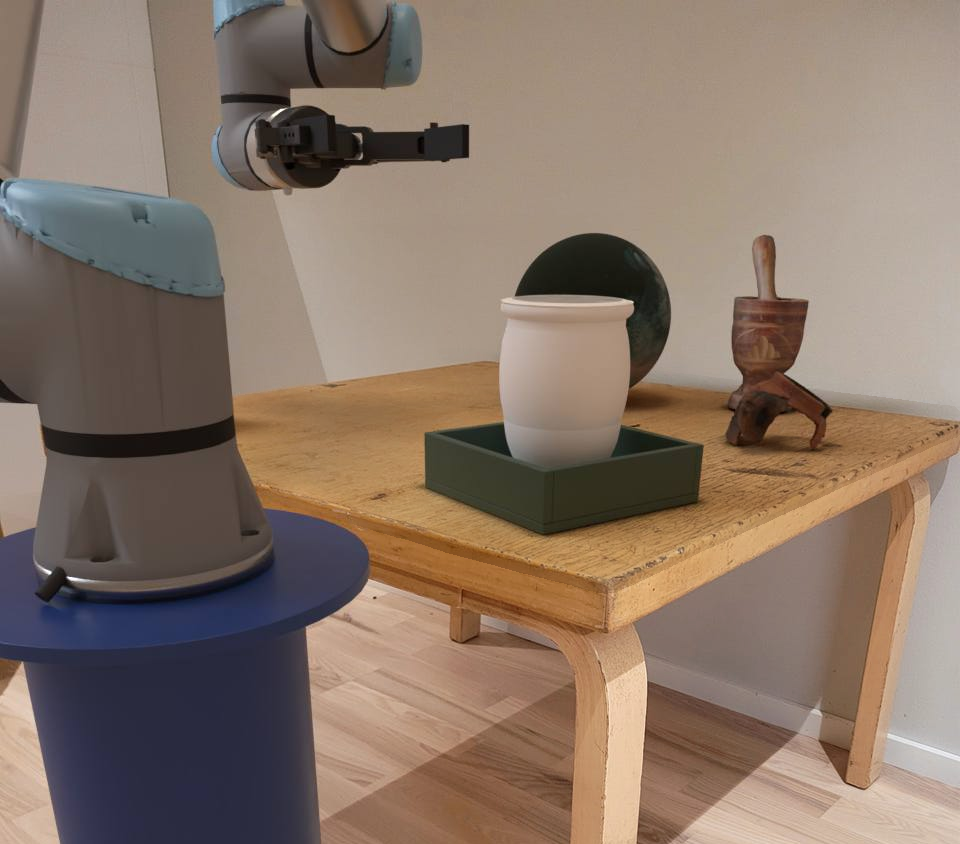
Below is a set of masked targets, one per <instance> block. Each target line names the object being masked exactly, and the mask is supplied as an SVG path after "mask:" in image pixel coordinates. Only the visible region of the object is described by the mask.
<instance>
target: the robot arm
mask: <svg viewBox="0 0 960 844" xmlns="http://www.w3.org/2000/svg"><path fill="white" fill-rule="evenodd" d="M45 1H46V0H0V404H19V405H21V404H22V405H24V404H26V405H28V404H29V405H36V406H37V411H38V416H39V417H38V418H39V422H40V425H41V431H42V438H43V443H44V449H45V457H46V464H45V471H44V476H43V481H42V482H43V483H42V488H41V495H40V500H39V505H38V506H39V507H38V513H37V518H36V525H35V527H36V530H35V536H34V542H33V559H34V565H35V570H36V575H37V580H38V582H39V584H40V585H41V586H40V587H39V588H38V589H37V590H36V592H35V594H36V596H37V597H39V598H40V599H41V600H43V601H45V602H48V603H49V602H50V600H51V599H52V598H53V597H54V596H55V595H59V596H62V597H65V598H69V599H73V600H78V601H85V602H92V603H104V604H145V603H158V602H168V601H175V600H182V599H188V598H194V597H199V596H204V595H208V594H212V593H216V592H219V591H223V590H226V589H229V588H232V587H235V586H238V585H240V584H243V583H245V582H247V581H249V580H251V579H253V578H255V577H257V576H258V575H260V574H261V573H263V572H264V571H265V570H267V569H268V568H269V567H270V566H271V564H272V563H273V560H274V543H273V534H272V531H271V527H270V523H269V521H268V518H267V516H266V514H265V511H264V509H263V508H264V507H263V504H262V502H261V499H260V498H259V495H258V493H257V491H256V487H255V486H254V483H253V481H252V478H251V476H250V474H249V472H248V469H247V467H246V465H245V462H244V460H243V458H242V455H241V452H240V450H239V447H238V440H237V432H236V424H235V411H234V399H233V389H232V377H231V376H232V375H231V364H230V354H229V341H228V329H227V317H226V304H225V295H224V294H225V292H226V281H225V279H224V277H223V275H222V270H221V264H220V258H219V257H220V256H219V250H218V246H217V245H218V244H217V238H216V234H215V229H214V227H213V224H212V222H211V220H210V218H209V217H208V215H207V214H206V213H205V212H204V211H203V210H202V209H201V208H199V207H198V206H196V205H194V204H193V203H192V202H188V201H185V200H182V199H177V198H173V197H168V196H164V195H159V194H158V195H156V194H154V193H148V192H147V193H146V192H140V191H135V190H127V189H120V188H113V187H106V186H100V185H99V186H98V185H89V184H81V183H75V182H67V181H58V180H50V179H49V180H48V179H40V178H39V179H37V178H29V177H28V178H26V177H20V174H21V168H22V160H23V152H24V147H25V146H24V145H25V141H26V134H27V133H26V132H27V125H28V119H29V111H30V106H31V98H32V91H33V85H34V77H35V69H36V63H37V56H38V50H39V49H38V48H39V41H40V35H41V29H42V22H43V14H44V10H45V9H44V8H45V3H46V2H45ZM300 1H301V4H302V5H287V4H286V1H285V0H212V5H213V7H212V8H213V32H212V33H213V34H212V35H213V40H214V46H215V56H216V65H217V76H218V77H217V78H218V85H219V86H218V87H219V95H220V116H221V124H220V125H219V126H218V128H217V129H216V130H215V133H214V134H213V137H212V142H211V156H212V161H213V163H214V165H215V168H216V170H217V172H218V173H219V174H220V176H221V177H222V178H223V179H224V180H225V181H226V182H227V183H229V184H230V185H232V186H233V187H235V188H238V189H241V190H247V191H250V192H253V191H254V192H255V191H256V192H262V191H263V192H266V191H276V190H279V191H280V190H282V192H283V194H284V195H285V196H291V195H293V189H299V190H300V189H301V190H305V189H309V190H310V189H320V188H323V187H325V186H327V185H329V184H331V183H332V182H333V181H334V180H335V179H336V178H337V177H338V175H339V174H340V172H341V170H342V169H346V170H347V169H349V168H350V167H355V166H356V167H359V166H360V167H371V166H373V165H378V164H381V163H383V164H384V163H405V162H406V163H413V162H441V163H448V162H450V161H451V160H458V159H461V160H462V159H469V158H470V124H467V123H465V124H464V123H462V124H453V125H444V126H439V123H438V122H429V127H428V128H424V129H423V131H422V130H421V131H420V130H419V131H417V130H416V131H374V130H373V128H371V127H369V126H360V125H359V126H356V125H355V126H349V125H346V124H342V123H337V122H336V115H335V114H329V113H328V112H326V111H325V110H324V109H322V108H320V107H318V106H314V105H308V104H307V105H306V104H305V105H299V106H293V107H292V101H291V90H299V89H300V90H301V89H305V90H306V89H381V90H384V91H385V90H386V89H389V88H391V89H392V88H402V87H410V86H412V85H414V84H415V83H416V82H417V81H418V79H419V78H420V74H421V70H422V62H423V36H422V27H421V22H420V18H419V15H418V13H417V11H416V9H415V7H414V6H411V5H410V4H409V3H399V2H396V1H394V0H392V1H390V2H387V1H386V0H300ZM356 134H361V139H360V137H359V136H357V135H356Z"/></svg>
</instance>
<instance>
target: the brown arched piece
mask: <svg viewBox="0 0 960 844" xmlns="http://www.w3.org/2000/svg"><path fill="white" fill-rule="evenodd" d="M782 399H784V400H787V406H788V408H789V407H790V410H789V412H791V413H795V412H797V413H799V414H802V415H804V416H805V417H806V418H807V419H809V420H810V421H811V422H813V424H814V425H815V429H814V432H813V435H812V436H811V438H810V440H809V447H810V448H811V450H816V449H817V448H818V446H819V444H821V442H822V440H823V438H825V437H826V431H827V419H828V417H829V416H830V415H831V414H832V413H833V412H834V410H833V408H831V406H830V405H829V404H828V403H827V402H825V401H824V400H823V399H821V398H820V397H819V396H818V395H816V394H815V393H813V392H812V391H811V390H810V389H808V388H806V387H805V386H804V385H802V384H800V383H799V382H798V381H796V380H795V379H793V378H792V377H790V376H788V375H787V374H785V373H784V374H782V373H779V372H775V373H774V375H773V376H772V378H771V379H770V380H767V381H763V382H761V383H757V384H756V385H755V386H752V387H751V388H750V390H748V391H747V392H746V394H745V395H744V396H742V400H740V401H739V405H738V406H737V407H736V409H735V410H734V411H733V415H732V416H731V418H730V421H729V424H728V427H727V430H726V432H725V434H724V435H725V438H726V439H727V440H728V441H729V442H730V443H731V444H733V445H734V446H738V445H739V443H740V440H741V439H740V438H741V436H742V437H743V439H744V440H745V441H746V442H751V443H761V442H762V441H763V438H764V437H765V435H766V433H767V431H768V429H769V427H770V426H771V425H772V424H773V423H774V421H775V419H776V418H777V417H778V416H779V415H780V414H781V412H780V411H781V408H782V405H783V401H782Z"/></svg>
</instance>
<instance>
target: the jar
mask: <svg viewBox="0 0 960 844" xmlns="http://www.w3.org/2000/svg"><path fill="white" fill-rule="evenodd" d="M500 302H501V303H500V311H501V313H502V314H503V315H504V316H505V317H506V320H507V321H506V322H507V323H506V326H505V330H504V332H503V337H502V341H501V347H500V356H499V367H498V369H499V370H498V377H499V378H498V384H499V386H498V387H499V398H500V405H501V411H502V415H503V422H504V428H505V434H506V439H507V443H508V446H509V449H510V452H511V454H512V457H513V458H516V459H519V460H522V461H525V462H528V463H531V464H534V465H537V466H541V467H544V468H547V469H548V468H553V467H559V466H565V465H571V464H577V463H583V462H589V461H594V460H600V459H606V458H610V457H611V455H612V453H613V451H614V449H615V446H616V443H617V440H618V436H619V432H620V427H621V425H622V419H623V416H624V413H625V409H626V404H627V401H628V395H629V390H630V389H629V381H630V347H629V338H628V333H627V329H626V319H627V318H628V317H630V316H631V315H632V313H633V311H634V305H633V303H634V302H633V301H630V300H626V299H621V298H615V297H605V296H590V295H528V296H517V297H515V296H511V297H505V298H500Z"/></svg>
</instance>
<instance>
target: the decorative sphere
mask: <svg viewBox="0 0 960 844" xmlns="http://www.w3.org/2000/svg"><path fill="white" fill-rule="evenodd" d="M528 295H590V296H605V297H615V298H621V299H626V300H630V301H633V302H634V303H633V305H634V311H633V313H632V315H631V316H630V317H628V318H627V319H626V329H627V333H628V338H629V347H630V381H629V389H628V390H630V389H631V388H633V387H635V386H636V385H637V384H638V383H640V382H641V381H643V379H645V377H647V375H648V374H649V373H651V371H652V369H653V368H654V367H655V365H656V364H657V363H658V361H659V359H660V357H661V356H662V354H663V352H664V350H665V347H666V345H667V341H668V339H669V334H670V329H671V322H672V304H671V297H670V293H669V288H668V287H667V283H666V281H665V279H664V277H663V274H662V273H661V271H660V269H659V268H658V266H657V264H656V263H655V261H654V260H653V259H652V258H651V257H650V256H649V255H648V254H647V253H646V252H645V251H644V250H642V249H641V248H640V247H639V246H637V245H636V244H634V243H633V242H630V241H629V240H627V239H624V238H622V237H619V236H617V235H613V234H609V233H603V232H586V233H580V234H575V235H571V236H569V237H565V238H564V239H560V240H559V241H556V242H555V243H553V244H552V245H550V246H549V247H547V248H545V250H543V251H542V252H541V253H540V254H539V255H537V257H535V259H534V260H533V261H532V262H531V264H529V266H528V268H527V269H526V270H525V271H524V274H523V275H522V277H521V279H520V280H519V283H518V285H517V287H516V290H515V293H514V297H517V296H528Z"/></svg>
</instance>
